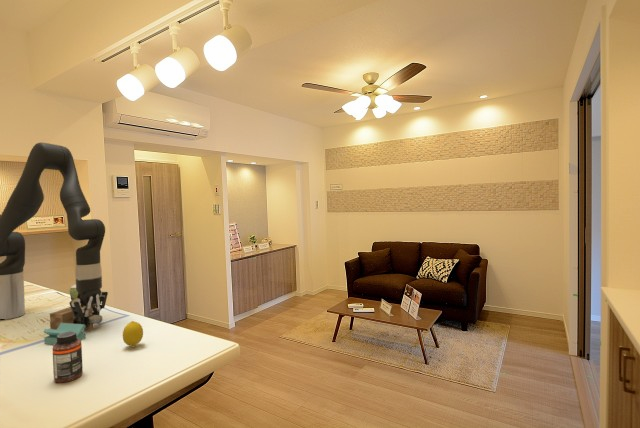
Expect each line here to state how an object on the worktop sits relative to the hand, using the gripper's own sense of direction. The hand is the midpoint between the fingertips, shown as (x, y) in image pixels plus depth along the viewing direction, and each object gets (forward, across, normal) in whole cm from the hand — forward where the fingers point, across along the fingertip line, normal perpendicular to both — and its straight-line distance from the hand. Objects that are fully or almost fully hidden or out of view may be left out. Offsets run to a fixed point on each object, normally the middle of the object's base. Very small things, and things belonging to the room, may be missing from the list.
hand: (90, 324), depth 119 cm
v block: (+2, +10, 0) cm, 10 cm away
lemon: (+2, +10, +26) cm, 27 cm away
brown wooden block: (+2, 0, -5) cm, 5 cm away
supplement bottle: (+2, +29, +22) cm, 37 cm away
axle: (-2, 0, -4) cm, 4 cm away
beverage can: (+2, -14, -18) cm, 23 cm away
